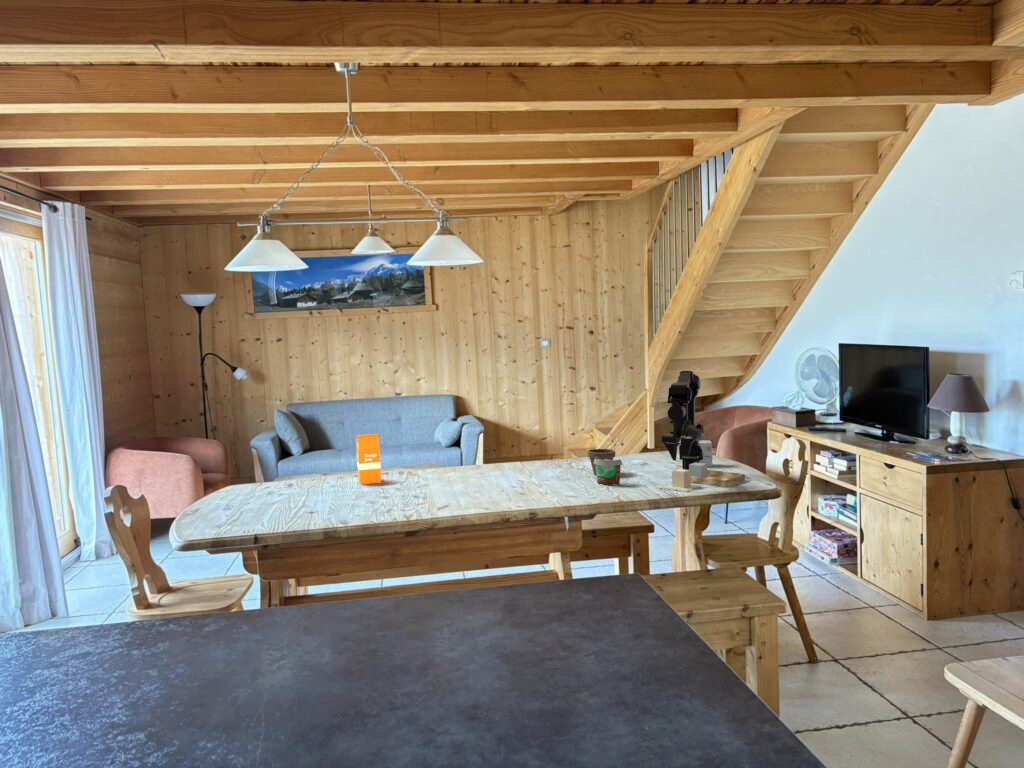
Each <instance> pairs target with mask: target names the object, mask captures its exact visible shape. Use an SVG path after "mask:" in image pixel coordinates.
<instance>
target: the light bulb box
mask: <svg viewBox="0 0 1024 768" xmlns="http://www.w3.org/2000/svg"><path fill="white" fill-rule="evenodd" d="M699 446H701V449H702V452H703V460H701V461H700V463H704V464H707V468H712V467H713V443H712V441H711V440H710V439H708V440H705V439H703V440H701V439H700V440H699ZM698 457H699V456H698Z"/></svg>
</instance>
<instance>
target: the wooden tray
mask: <svg viewBox="0 0 1024 768" xmlns="http://www.w3.org/2000/svg"><path fill="white" fill-rule="evenodd" d="M745 480H746V474H745V473H740V472H732V471H724V470H714V469H707V478H702V477H693V476H691V484H696V485H703V486H709V487H710V486H711V487H717V488H718V487H720V488H725V489H726V488H729V487H732V486H734V485H737V484H739V483H741V482H744V481H745Z"/></svg>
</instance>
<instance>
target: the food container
mask: <svg viewBox="0 0 1024 768" xmlns="http://www.w3.org/2000/svg"><path fill="white" fill-rule="evenodd" d="M594 464H595V465H596V474H597V475H596V482H597V485H600V484H603V485H602V486H614V485H613V484H618V485H620V484H621V483H620V480H621V466H622V465H623V463H622V459H620V458H619V459H613V460H610V459H598V457H595V459H594Z"/></svg>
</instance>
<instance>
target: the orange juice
mask: <svg viewBox="0 0 1024 768" xmlns="http://www.w3.org/2000/svg"><path fill="white" fill-rule="evenodd" d="M379 441H380V440H379V434H378V433H373V434H372V433H370V434H358V435H356V462H357V465H356V466H357V481H358V483H359V484H360V485H368V484H379V483H382V473H381V470H382V469H381V465H382V464H381V449H380V443H379Z"/></svg>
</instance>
